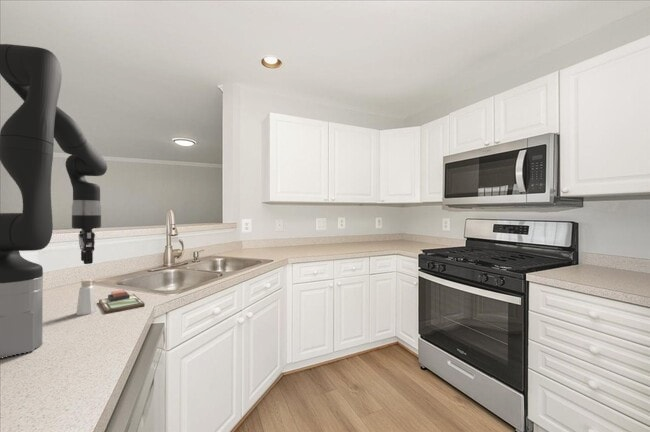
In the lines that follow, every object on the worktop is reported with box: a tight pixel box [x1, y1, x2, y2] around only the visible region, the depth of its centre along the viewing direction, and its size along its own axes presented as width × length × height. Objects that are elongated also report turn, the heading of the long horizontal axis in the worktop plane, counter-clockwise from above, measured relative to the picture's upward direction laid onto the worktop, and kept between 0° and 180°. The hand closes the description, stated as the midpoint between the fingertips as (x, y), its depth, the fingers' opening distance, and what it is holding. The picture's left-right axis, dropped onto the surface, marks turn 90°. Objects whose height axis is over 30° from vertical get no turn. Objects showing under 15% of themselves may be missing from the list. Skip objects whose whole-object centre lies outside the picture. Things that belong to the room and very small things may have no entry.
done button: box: [111, 289, 127, 297], centre depth 106 cm, size 4×4×2 cm
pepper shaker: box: [76, 278, 97, 316], centre depth 94 cm, size 5×5×11 cm
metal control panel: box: [98, 291, 146, 315], centre depth 103 cm, size 17×11×2 cm, turn 45°
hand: (86, 262), depth 94 cm, fingers open, 8 cm apart
